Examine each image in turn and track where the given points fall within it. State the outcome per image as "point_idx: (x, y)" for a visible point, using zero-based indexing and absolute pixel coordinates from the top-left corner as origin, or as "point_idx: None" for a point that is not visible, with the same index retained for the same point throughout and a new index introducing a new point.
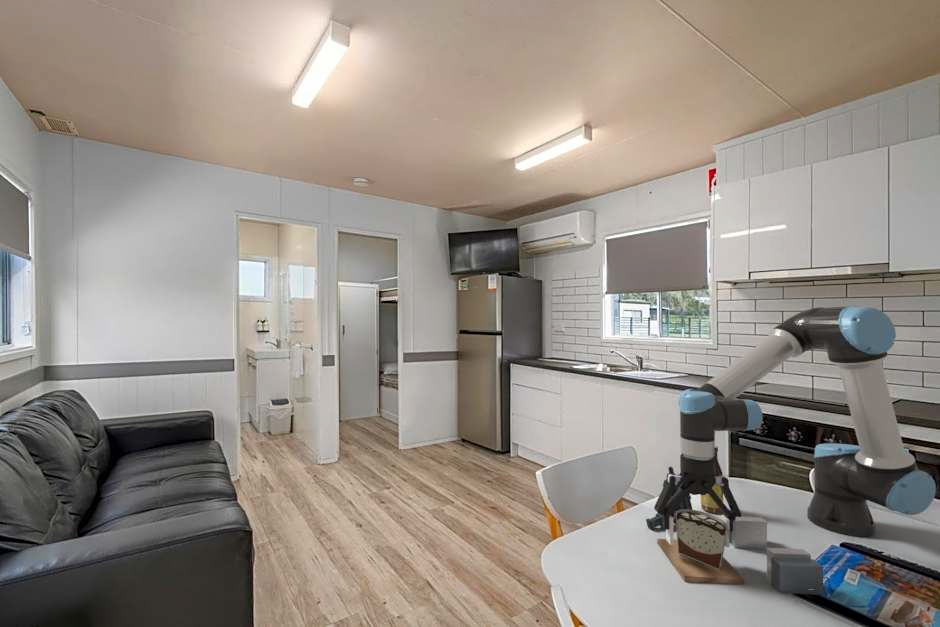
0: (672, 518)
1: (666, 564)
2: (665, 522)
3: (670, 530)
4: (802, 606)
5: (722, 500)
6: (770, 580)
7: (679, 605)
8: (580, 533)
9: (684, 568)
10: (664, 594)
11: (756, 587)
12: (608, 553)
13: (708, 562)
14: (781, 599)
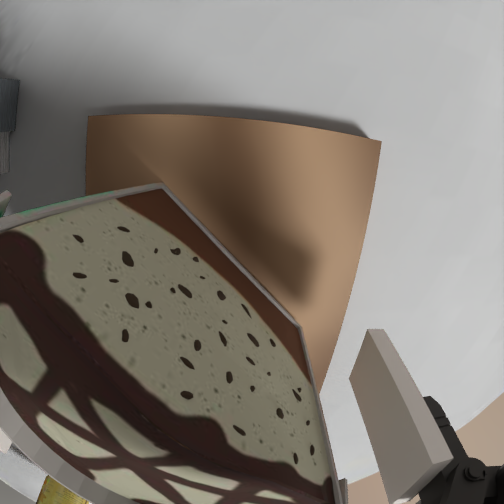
0: (436, 460)
1: (370, 276)
2: (446, 431)
3: (414, 388)
4: (13, 22)
5: (43, 487)
6: (5, 149)
7: (453, 19)
8: (477, 413)
9: (342, 207)
10: (476, 82)
11: (68, 100)
12: (493, 334)
13: (197, 228)
14: (39, 40)
